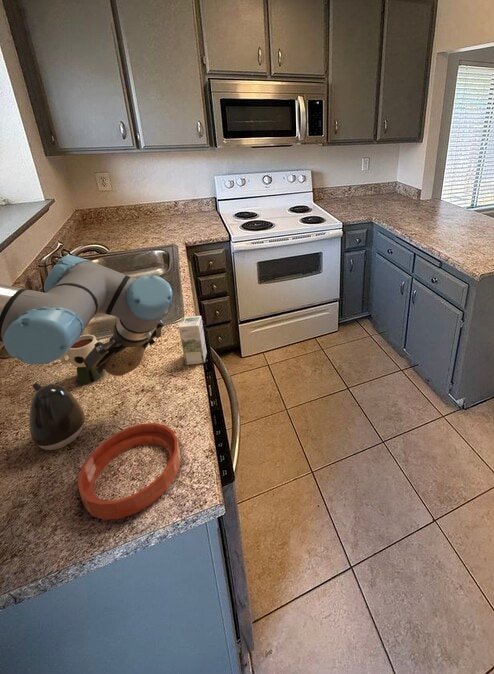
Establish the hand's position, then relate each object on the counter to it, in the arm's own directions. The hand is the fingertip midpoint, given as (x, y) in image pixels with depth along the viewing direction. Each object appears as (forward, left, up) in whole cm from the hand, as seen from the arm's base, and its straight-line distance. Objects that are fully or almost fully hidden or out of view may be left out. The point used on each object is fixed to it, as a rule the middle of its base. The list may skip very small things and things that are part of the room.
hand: (119, 357), depth 88 cm
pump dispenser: (-14, -4, -16) cm, 22 cm away
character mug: (-12, +17, -16) cm, 26 cm away
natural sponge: (+1, -2, -3) cm, 4 cm away
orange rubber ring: (+3, -21, -16) cm, 27 cm away
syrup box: (+17, +14, -16) cm, 27 cm away
